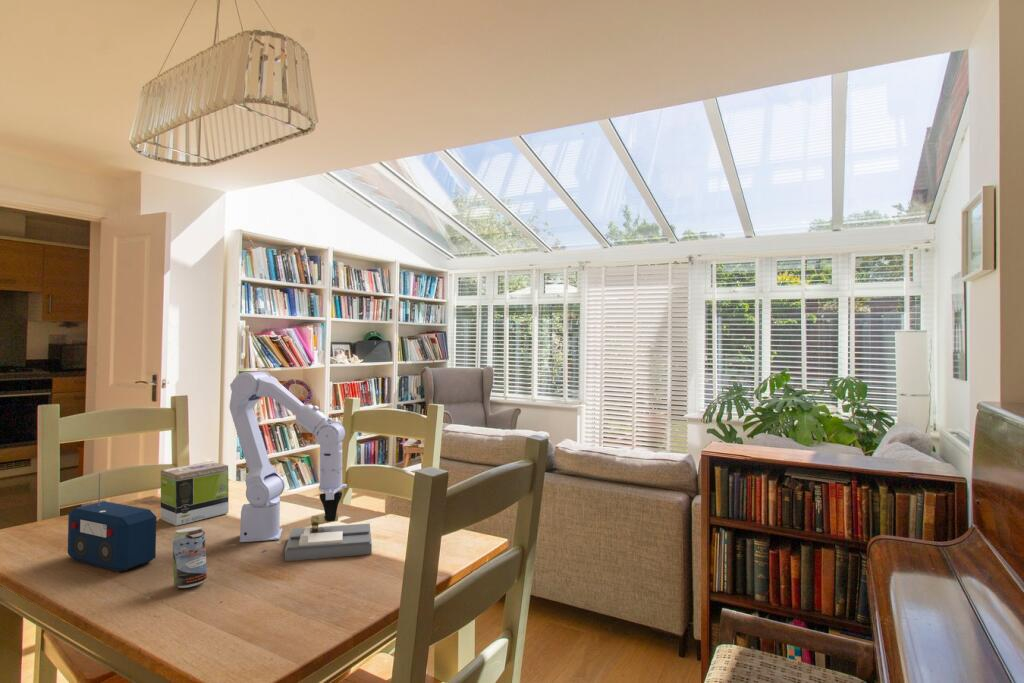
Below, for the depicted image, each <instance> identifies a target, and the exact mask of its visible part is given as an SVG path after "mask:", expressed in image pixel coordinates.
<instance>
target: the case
mask: <svg viewBox="0 0 1024 683" xmlns="http://www.w3.org/2000/svg"><path fill="white" fill-rule="evenodd" d="M370 524H371V523H359V524H343V525H330V526H329V525H328V526H318V531H312V526H311V527H310V533H324V532H338V531H343V538H342V543H337V544H323V545H310V546H299V541H300V537H301V534H304V530H305V528H306V527H300V528H291V531H290V533H289V537H288V540H287V542H286V546H285V549H284V562H290V561H291V562H292V561H302V560H303V561H305V560H315V559H316V560H318V559H326V558H327V559H328V558H339V557H351V556H365V555H372V554H373V553H372V551H373V550H372V549H373V548H372V547H373V546H372V544H373V543H372V533H371V525H370Z"/></svg>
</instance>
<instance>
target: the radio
mask: <svg viewBox="0 0 1024 683" xmlns="http://www.w3.org/2000/svg"><path fill="white" fill-rule="evenodd" d="M100 495H101V473H98V496H97V497H98V498H97V499H98V502H94V503H91V504H87V505H82V506H78V507H75V508H73V509H71V510H70V511H69V512H68V516H67V518H68V523H67V528H68V529H67V530H68V531H67V554H68V556H69V557H70V558H71V559H72V560H73V561H75V562H79V563H84V564H88V565H91V566H95V567H98V568H103V569H107V570H110V571H114V572H117V573H122V572H125V571H128V570H130V569H133V568H136V567H138V566H142V565H144V564H147V563H149V562H151V561H153V560H154V559H156V556H157V555H156V554H157V553H156V550H157V549H156V548H157V547H156V546H157V544H156V543H157V516H156V515H155V513H154V512H153V511H152V510H151V509H148V508H144V507H137V506H131V505H127V504H121V503H116V502H111V501H106V500H105V501H104V500H103V501H101V496H100Z"/></svg>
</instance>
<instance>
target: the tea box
mask: <svg viewBox="0 0 1024 683" xmlns="http://www.w3.org/2000/svg"><path fill="white" fill-rule="evenodd" d="M229 490H230V489H229V465H227V464H224V463H219V462H215V461H213V460H212V461H207V462H206V461H205V462H200V463H195V464H188V465H182V466H177V467H171V468H165V469H161V470H160V519H161V520H162V521H164V522H166V523H168V524H170V525H173V526H176V527H178V526H181V525H185V524H189V523H193V522H197V521H200V520H205V519H209V518H213V517H217V516H222V515H225V514H229V511H230V510H229V506H230V505H229Z"/></svg>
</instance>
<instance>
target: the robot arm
mask: <svg viewBox="0 0 1024 683" xmlns="http://www.w3.org/2000/svg"><path fill="white" fill-rule="evenodd" d="M229 387H230V390H231V394H230V400H229V411H230V415H231V418H232V422H233V425H234V428H235V431H236V433H237V437H238V441H239V443H240V446H241V451H242V453H243V457H244V460H245V463H246V467H247V470H248V471H247V472H248V473H247V475H246V477H245V480H244V481H245V482H244V483H245V485H246V489H245V497H246V500H247V501H248V503H244V504H243V505H242V506H241V510H240V525H239V526H240V527H239V528H240V530H239V532H240V533H239V535H240V536H239V543H250V542H262V541H263V542H264V541H265V542H267V541H278V540H280V539H281V535H282V533H283V528H282V527H280V523H281V522H280V520H281V516H280V514H281V512H280V510H281V495H282V493H284V491H285V486H286V485H285V481H284V479H283V477H282V476H281V475H280V474H279V472H278V469H277V468H276V466H274V465H273V464H271V462H270V458H269V456H268V453H267V450H266V444H265V443H264V440H263V436H262V433H261V430H260V426H259V423H258V419H257V416H256V414H255V411H254V408H255V406H256V404H257V403H258V402H259V401H260V399H261V398H271V399H273V400H274V401H275V402H277V403H278V404H280V405H281V406H283V407H284V408H285V409H286V410H289V411H290V412H291V413H292V414H294V415H295V421H296V423H298V424H299V425H300V426H302V427H303V428H304V429H306V430H307V431H308V432H309V433H310V434H312V435H313V436H314V437H315V440H316V442H317V443H318V445H319V486H318V491H320V492H322V493H320V494H319V497H318V498H319V500H320V502H321V503H322V506H323V510H324V514H325V517H326V521H327V522H328V521H335V518H336V513H338V506H339V504H340V501H341V499H342V496H343V491H342V489H346V488H348V486H347V485H348V484H347V483H343V441H344V439H345V437H346V429H345V427H344V426H343V424H342V423H341V422H339V421H334V419H333V418H332V417H328V416H327V415H326V414H324V413H323V412H322V411H320V407H319V406H318V405H313V404H304V403H303V402H302V401H301V400H300V399H298V398H297V397H296V396H295V395H294V394H293V393H292V392H291V391H289V390H288V389H287V388H286V387H285V386H283V384H281V383H280V381H279V380H278V379H277V378H276V377H274V376H272V375H271V374H270V373H269V372H267V371H264V370H258V371H253V372H252V371H250V372H249V371H248V372H245V371H244V372H241V373H239V374H237V375H236V376H235V377H234V379H233V380H232V381H231V383H230V384H229ZM335 522H336V521H335Z"/></svg>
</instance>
